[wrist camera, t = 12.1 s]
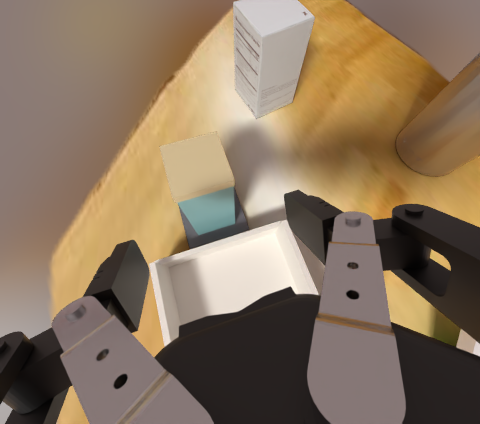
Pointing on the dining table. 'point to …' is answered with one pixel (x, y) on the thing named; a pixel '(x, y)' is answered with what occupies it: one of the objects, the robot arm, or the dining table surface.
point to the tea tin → (201, 181)
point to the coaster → (218, 234)
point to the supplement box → (269, 51)
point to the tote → (227, 276)
